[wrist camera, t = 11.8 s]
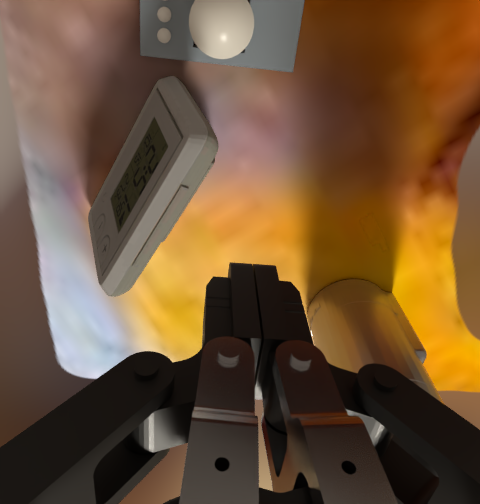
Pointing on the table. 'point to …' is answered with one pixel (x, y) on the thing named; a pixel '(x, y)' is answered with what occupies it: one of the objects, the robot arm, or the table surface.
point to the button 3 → (221, 26)
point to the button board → (254, 56)
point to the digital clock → (149, 184)
